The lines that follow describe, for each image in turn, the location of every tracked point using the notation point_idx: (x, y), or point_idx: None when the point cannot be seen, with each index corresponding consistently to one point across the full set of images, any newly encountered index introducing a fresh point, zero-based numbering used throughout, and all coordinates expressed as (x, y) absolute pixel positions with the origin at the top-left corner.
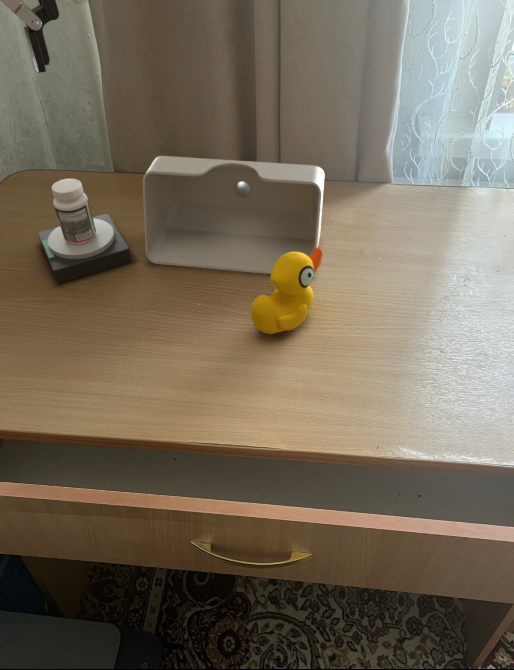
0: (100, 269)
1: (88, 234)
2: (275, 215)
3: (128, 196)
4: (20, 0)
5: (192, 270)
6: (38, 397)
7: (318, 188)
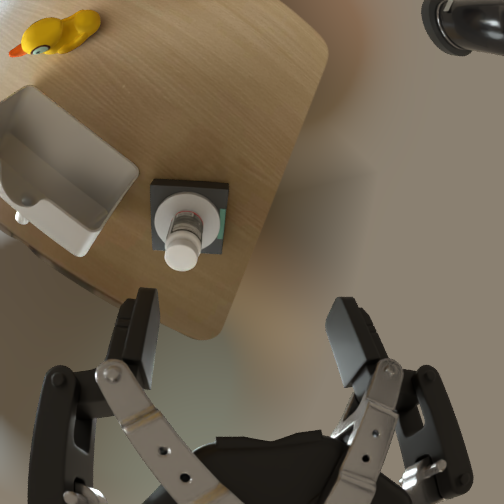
0: (185, 181)
1: (180, 214)
2: (20, 168)
3: (128, 274)
4: (127, 436)
5: (108, 137)
6: (300, 57)
7: None
